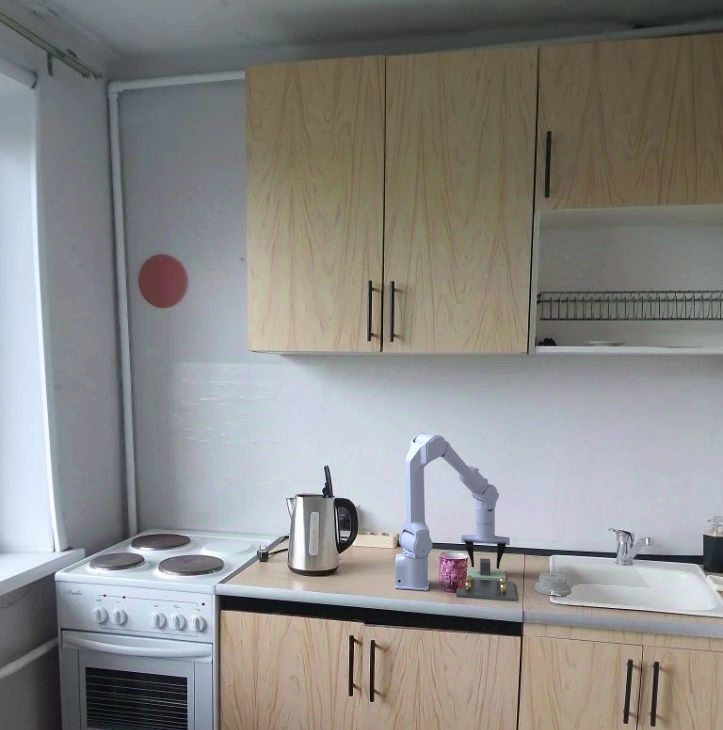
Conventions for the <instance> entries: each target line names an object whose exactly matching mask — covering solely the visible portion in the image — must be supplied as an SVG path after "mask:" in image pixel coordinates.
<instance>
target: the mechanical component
mask: <svg viewBox="0 0 723 730" xmlns="http://www.w3.org/2000/svg"><path fill="white" fill-rule="evenodd" d="M567 578H568V577H567V576H566V575H564V574H562V573H560V572H549V571H548V572H547V571H546V572H541V573H540V574H539V577H538V580H539V581H537V582H535V584H534V589H535V591H536V592H538V593H539V594H542V595H544V596H545V595H546V596H550V594H551V592H552V591H551V590H553V591H554V593H556V594H559V595H561V596H560V597H566V596H570V595H571V594H572V586H570V585H569V584H568V583H567V582H568V579H567ZM550 597H551V596H550Z"/></svg>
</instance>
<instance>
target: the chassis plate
mask: <svg viewBox="0 0 723 730" xmlns="http://www.w3.org/2000/svg"><path fill="white" fill-rule="evenodd" d="M455 592H456V593H455V597H456V598H461V599H462V598H463V599H478V600H493V601H506V602H517V596H516V591H515V584H514V581H508V580H506V581H505V578H500V580H487V579H471V576H467V582H465V589H462V590H457V589H456V591H455Z"/></svg>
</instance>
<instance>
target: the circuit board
mask: <svg viewBox="0 0 723 730" xmlns="http://www.w3.org/2000/svg"><path fill="white" fill-rule="evenodd" d="M467 569H468V576H471V579H481V580H496V581H500V578H505V581H507V576H506V571H505V570H499V569H491V559H490V558H482V557H481V558H480V557H479V568H467Z"/></svg>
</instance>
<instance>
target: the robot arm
mask: <svg viewBox="0 0 723 730" xmlns="http://www.w3.org/2000/svg"><path fill="white" fill-rule="evenodd" d="M438 458H442V459H443V460H444V461H445V462H446V463H448V465H449V466H451V467H452V468H453V469H454V470H455V471H456V472H457V473H459V474H458V475H459V477H458V479H459V481H460V482H461V483H462V484H463V485H464V486H465V487H466V488H467V489H468V490H469V491H470V492H471V496H472V498H473V499H474V500H475V534H461V537H460V540H461V541H460V542H461V544H462V543H463V544H464V547H465V550H466V551H467V553H468V556H469V560H470V563H471V564H470V565H471V568H475V559H474V544H493V545H496V570H499V569H500V564H501V560H502V557H503V555H504V553H505V550H506V549H507V548H506V547H507V546H510V545H511V543H510V542H511V541H510V540H511V538H510V537H509V536H507V537H506V536H501V535H495V533H496V520H495V518H496V517H495V516H496V511H495V510H496V507H497V501H498V500H499V497H500V493H499V492H498V490H497V487H496V486H495V485H493V484H490V483H489V482H488V481H489V479H488V478H485V477H484V476H483V475H482V474H481V473H480V472H479V471H480V470H479V469H480V468H478V467H476V466H473V465H469V466H468V465H467V463H466V462H465V461H464V460H463V459H462V457H461V456H460V455H459V454H458V453H457V452H456V450H455V449H453V447H452V446H451V444H450V442H449V441H447V440H446V439H445V438H444V437H443V436H442V435H437V434H430V433H426V432H420V433H418V434H416V435H415V436H414V437H413V438H412V439H411V440H410V448H409V449H408V453H407V455H406V458H405V460H404V468H405V469H404V474H405V476H404V477H405V483H404V485H405V521H404V522H403V524H401V530H400V531H401V532H400V534H399V538H398V543H399V545H400V547H401V548H402V553H396V555H395V560H394V561H395V563H394V567H395V568H394V573H395V574H394V588H395V589H398V590H399V589H400V590H401V589H403V590H415V591H416V590H417V591H429V587H430V584H431V579H429V578H428V577H429V574H428V572H429V555H430V553H432V552H431V551H432V550H433V541H432V538H431V536H430V529H429V528H428V525H427V524H426V513H425V512H426V509H425V467H427V465H429V464H430V463H431V462H432V461H434V460H436V459H438Z"/></svg>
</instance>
